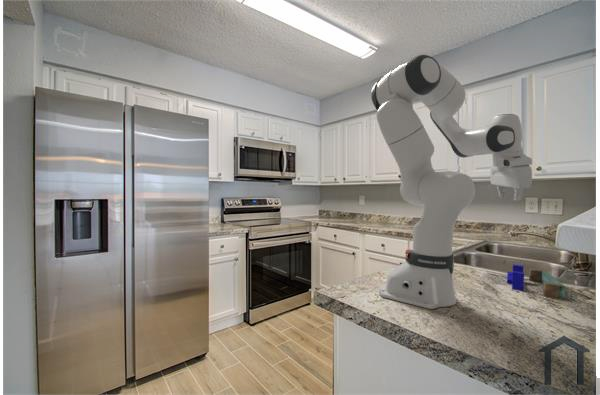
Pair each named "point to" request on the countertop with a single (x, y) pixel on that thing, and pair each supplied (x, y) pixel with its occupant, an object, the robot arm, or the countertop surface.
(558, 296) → the rail
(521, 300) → the countertop surface
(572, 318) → the countertop surface
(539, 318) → the countertop surface
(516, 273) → the cable clip
